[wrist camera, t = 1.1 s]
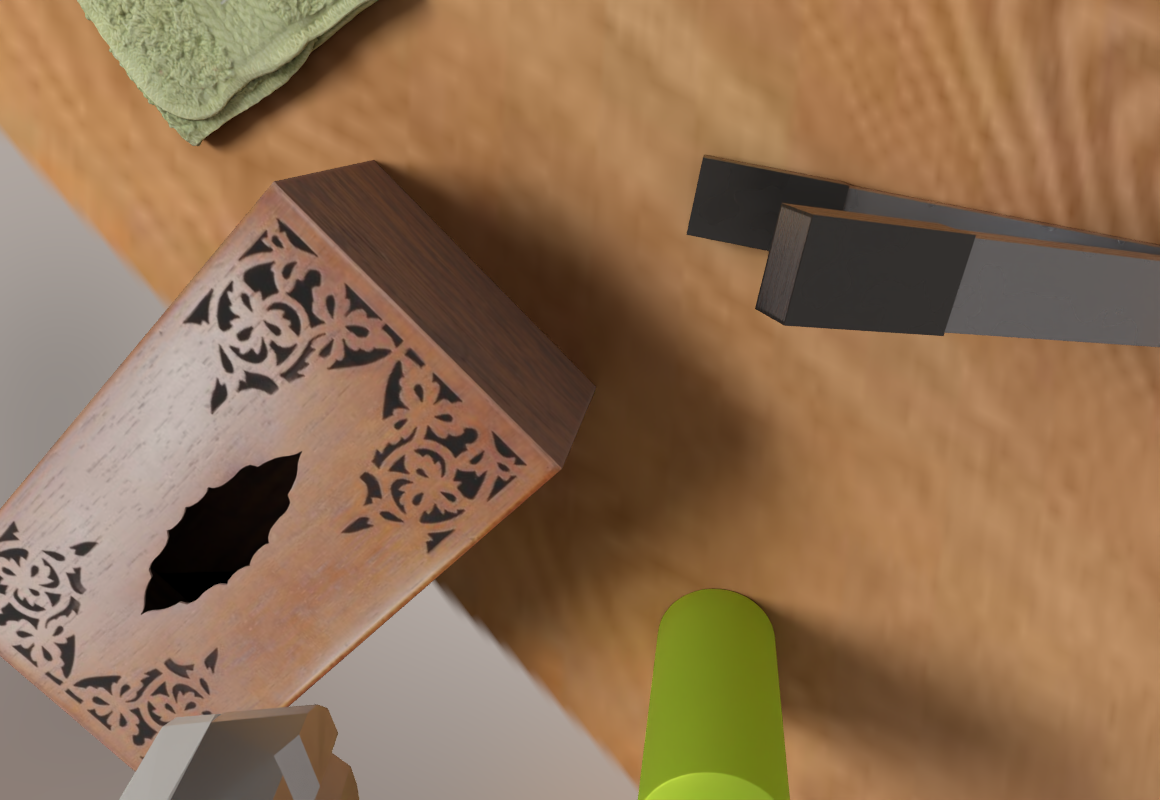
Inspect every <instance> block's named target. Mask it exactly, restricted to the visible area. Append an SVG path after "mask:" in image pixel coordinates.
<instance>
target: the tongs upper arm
mask: <svg viewBox="0 0 1160 800" xmlns="http://www.w3.org/2000/svg"><path fill="white" fill-rule="evenodd" d="M755 309H756V310H758V311H760V312H762V313H763V314H765V315H767V316H769V317H770V318H772V319H774V320H776V321H777V322H779V323H781V324H783V325H785V326H800V327H816V328H831V329H846V330H861V331H876V332H891V333H906V334H922V335H937V336H943V335H944V332H945V333H960V334H974V335H989V336H1004V337H1018V338H1033V339H1048V340H1063V341H1077V342H1092V343H1107V344H1121V345H1136V346H1151V347H1160V255H1155V254H1147V253H1139V252H1131V251H1124V250H1116V249H1108V248H1100V247H1092V246H1085V245H1077V244H1069V243H1061V242H1053V241H1045V240H1038V239H1030V238H1022V237H1014V236H1006V235H999V234H991V233H983V232H975V231H967V230H960V229H955V228H952V227H949V226H946V225H943V224H939V223H932V222H924V221H917V220H909V219H901V218H894V217H886V216H878V215H871V214H863V213H855V212H848V211H840V210H832V209H825V208H817V207H809V206H801V205H794V204H786V203H781V207H780V211H779V215H778V219H777V223H776V227H775V231H774V235H773V239H772V243H771V247H770V251H769V255H768V259H767V263H766V267H765V271H764V275H763V279H762V283H761V287H760V291H759V295H758V299H757V303H756V308H755Z"/></svg>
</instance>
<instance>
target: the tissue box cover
mask: <svg viewBox="0 0 1160 800" xmlns="http://www.w3.org/2000/svg"><path fill="white" fill-rule="evenodd" d="M595 389H596V386H594V385H593V384H592V383H591V381H590V380H589V379H588V378H587V377H586V376H585V375H584V374H583V373H582V372H581V371H580V370H579V369H578V368H577V367H576V366H575V365H574V364H573V363H572V362H571V361H570V360H569V359H568V358H567V357H566V356H565V355H564V354H563V353H562V352H561V351H560V350H559V349H558V348H557V347H556V346H555V345H554V344H553V343H552V342H551V341H550V340H549V339H548V338H547V336H546V335H545V334H544V333H543V332H542V331H541V330H540V329H539V328H538V327H537V326H536V325H535V324H534V323H533V322H532V321H531V320H530V319H529V318H528V317H527V316H526V315H525V314H524V313H523V312H522V311H521V310H520V309H519V308H518V307H517V306H516V305H515V304H514V303H513V302H512V301H511V300H510V299H509V298H508V297H507V296H506V295H505V294H504V293H503V292H502V291H501V290H500V288H499V287H498V286H497V285H496V284H495V283H494V282H493V281H492V280H491V279H490V278H489V277H488V276H487V275H486V274H485V273H484V272H483V271H482V270H481V269H480V268H479V267H478V266H477V265H476V264H475V263H474V262H473V261H472V260H471V259H470V258H469V257H468V256H467V255H466V254H465V253H464V252H463V251H462V250H461V249H460V248H459V247H458V246H457V245H456V244H455V243H454V241H453V240H452V239H451V238H450V237H449V236H448V235H447V234H446V233H445V232H444V231H443V230H442V229H441V228H440V227H439V226H438V225H437V224H436V223H435V222H434V221H433V220H432V219H431V218H430V217H429V216H428V215H427V214H426V213H425V212H424V211H423V210H422V209H421V208H420V207H419V206H418V205H417V204H416V203H415V202H414V201H413V200H412V199H411V198H410V197H409V196H408V195H407V193H406V192H405V191H404V190H403V189H402V188H401V187H400V186H399V185H398V184H397V183H396V182H395V181H394V180H393V179H392V178H391V177H390V176H389V175H388V174H387V173H386V172H385V171H384V170H383V169H382V168H381V167H380V166H379V165H378V164H377V163H376V162H375V161H374V160H372V161H367V162H362V163H358V164H353V165H348V166H344V167H339V168H335V169H330V170H325V171H321V172H316V173H311V174H307V175H302V176H298V177H293V178H288V179H284V180H279V181H274V182H273V183H272V185H271V186H270V187H269V188H268V189H267V191H266V192H265V193H264V194H263V195H262V197H261V198H260V199H259V200H258V201H257V202H256V204H255V205H254V206H253V207H252V208H251V210H250V211H249V212H248V213H247V214H246V216H245V217H244V218H243V219H242V220H241V222H240V223H239V224H238V225H237V226H236V228H235V229H234V230H233V231H232V232H231V234H230V235H229V236H228V237H227V238H226V240H225V241H224V242H223V243H222V244H221V246H220V247H219V248H218V249H217V250H216V252H215V253H214V254H213V255H212V256H211V257H210V259H209V260H208V261H207V262H206V263H205V265H204V266H203V267H202V268H201V269H200V271H199V272H198V273H197V274H196V275H195V277H194V278H193V279H192V280H191V281H190V283H189V284H188V285H187V286H186V287H185V289H184V290H183V291H182V292H181V293H180V295H179V296H178V297H177V298H176V299H175V301H174V302H173V303H172V304H171V305H170V307H169V308H168V309H167V310H166V311H165V312H164V314H163V315H162V316H161V317H160V319H159V320H158V321H157V322H156V323H155V324H154V326H153V327H152V328H151V329H150V330H149V332H148V333H147V334H146V335H145V336H144V338H143V339H142V340H141V341H140V342H139V344H138V345H137V346H136V347H135V349H134V350H133V351H132V352H131V353H130V354H129V356H128V357H127V358H126V359H125V360H124V362H123V363H122V364H121V365H120V366H119V368H118V369H117V370H116V371H115V372H114V373H113V375H112V376H111V377H110V378H109V380H108V381H107V382H106V383H105V384H104V385H103V387H102V388H101V389H100V390H99V392H98V393H97V394H96V395H95V396H94V397H93V399H92V400H91V401H90V402H89V403H88V405H87V406H86V407H85V408H84V410H83V411H82V412H81V413H80V414H79V415H78V417H77V418H76V419H75V420H74V422H73V423H72V424H71V425H70V426H69V427H68V428H67V430H66V431H65V432H64V433H63V435H62V436H61V437H60V438H59V439H58V441H57V442H56V443H55V444H54V445H53V447H52V448H51V449H50V450H49V451H48V452H47V454H46V455H45V456H44V457H43V459H42V460H41V461H40V462H39V463H38V464H37V466H36V467H35V468H34V469H33V470H32V472H31V473H30V474H29V475H28V476H27V478H26V479H25V480H24V481H23V482H22V483H21V485H20V486H19V487H18V488H17V489H16V491H15V492H14V493H13V494H12V495H11V497H10V498H9V499H8V500H7V502H6V503H5V504H4V505H3V506H2V507H1V509H0V656H1V657H2V658H3V659H4V660H6V661H7V662H8V663H9V664H10V665H11V666H12V667H14V668H15V669H16V670H17V671H18V672H20V673H21V674H22V675H23V676H24V677H25V678H27V679H28V680H29V681H30V682H31V683H32V684H34V685H35V686H36V687H37V688H38V689H39V690H41V691H42V692H43V693H44V694H45V695H46V696H48V697H49V698H50V699H51V700H52V701H53V702H55V703H56V704H57V705H58V706H59V707H60V708H62V709H63V710H64V711H65V712H66V713H67V714H69V715H70V716H71V717H72V718H73V719H74V720H76V721H77V722H78V723H79V724H80V725H81V726H83V727H84V728H85V729H86V730H87V731H89V732H90V733H91V734H92V735H93V736H94V737H95V738H97V739H98V740H99V741H100V742H101V743H102V744H104V745H105V746H106V747H107V748H108V749H110V750H111V751H112V752H113V753H114V754H115V755H117V756H118V757H119V758H120V759H121V760H122V761H124V762H125V763H126V764H127V765H128V766H130V767H131V768H132V769H133V770H134V771H135V772H136V770H137V769H138V767H139V765H140V764H141V762H142V760H143V759H144V757H145V755H146V753H147V752H148V750H149V748H150V747H151V745H152V743H153V742H154V740H155V738H156V736H157V735H158V733H159V731H160V730H161V728H162V727H163V726H164V725H166V724H167V723H169V722H170V721H172V720H173V719H174V718H176V717H186V716H199V715H211V714H222V713H223V712H233V711H245V710H257V709H269V708H281V707H289V706H290V705H291V704H292V703H293V702H294V701H295V700H297V699H298V698H299V697H300V696H301V695H302V694H303V693H305V692H306V691H307V690H308V689H309V688H310V687H312V686H313V685H314V684H315V683H316V682H317V681H318V680H319V679H321V678H322V677H323V676H324V675H325V674H326V673H327V672H329V671H330V670H331V669H332V668H333V667H334V666H336V665H337V664H338V663H339V662H340V661H341V660H343V659H344V657H346V656H347V655H348V654H349V653H350V652H352V651H353V650H354V649H355V648H356V647H357V646H359V645H360V644H361V643H362V642H363V641H364V640H365V639H367V638H368V637H369V636H370V635H371V634H372V633H374V632H375V631H376V630H377V629H378V628H379V627H380V626H382V625H383V624H384V623H385V622H386V621H387V620H389V619H390V618H391V617H392V616H393V615H394V614H395V613H396V612H398V611H399V610H400V609H401V608H402V607H403V606H405V605H406V604H407V603H408V602H409V601H410V600H412V599H413V598H414V597H415V596H416V595H417V594H418V593H420V592H421V591H422V590H423V589H424V588H425V587H426V586H428V585H429V584H430V583H431V582H432V581H433V580H435V579H436V578H437V577H438V576H439V575H440V574H441V573H443V572H444V571H445V570H446V569H447V568H448V567H449V566H451V565H452V564H453V563H454V562H455V561H456V560H457V559H459V558H460V557H461V556H462V555H463V554H464V553H466V552H467V551H468V550H469V549H470V548H471V547H472V546H474V545H475V544H476V543H477V542H478V541H479V540H480V539H482V538H483V537H484V536H485V535H486V534H487V533H489V532H490V531H491V530H492V529H493V528H494V527H495V526H497V525H498V524H499V523H500V522H501V521H502V520H503V519H505V518H506V517H507V516H508V515H509V514H510V513H512V512H513V511H514V510H515V509H516V508H517V507H518V506H520V505H521V504H522V503H523V502H524V501H525V500H526V499H528V498H529V497H530V496H531V495H532V494H533V493H535V492H536V491H537V490H538V489H539V488H540V487H541V486H543V485H544V484H545V483H546V482H547V481H548V480H549V479H551V478H552V477H553V476H554V475H555V474H556V473H557V472H559V471H560V470H561V469H562V467H563V465H564V463H565V460H566V458H567V456H568V453H569V451H570V448H571V446H572V444H573V441H574V439H575V437H576V434H577V432H578V429H579V427H580V425H581V422H582V420H583V418H584V415H585V413H586V411H587V408H588V406H589V403H590V401H591V399H592V396H593V394H594V392H595Z"/></svg>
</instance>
